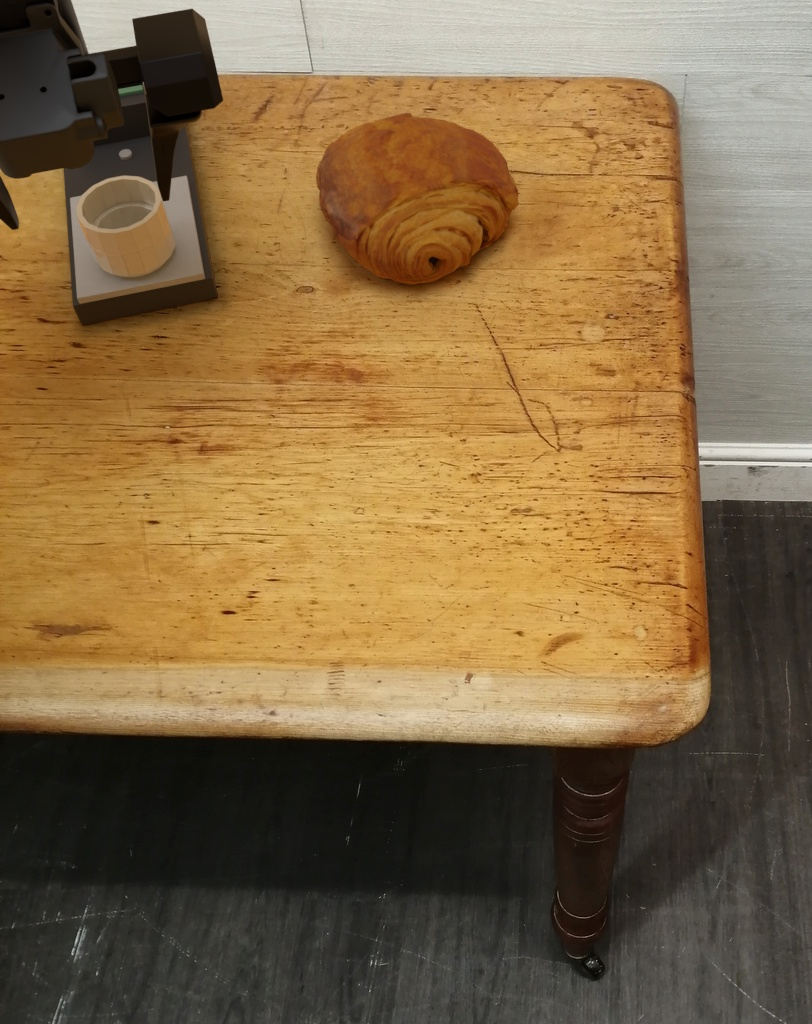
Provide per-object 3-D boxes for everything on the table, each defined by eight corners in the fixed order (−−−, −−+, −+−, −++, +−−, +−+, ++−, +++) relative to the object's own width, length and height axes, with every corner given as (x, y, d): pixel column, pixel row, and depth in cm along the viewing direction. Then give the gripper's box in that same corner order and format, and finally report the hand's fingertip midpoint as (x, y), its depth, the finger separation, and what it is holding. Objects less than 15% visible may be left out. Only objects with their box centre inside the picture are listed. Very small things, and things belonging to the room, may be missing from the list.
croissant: (348, 325, 73) (337, 255, 66) (307, 169, 79) (292, 90, 72) (536, 282, 74) (545, 208, 67) (480, 131, 80) (483, 49, 73)
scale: (81, 325, 71) (56, 271, 67) (66, 110, 85) (44, 54, 81) (218, 298, 72) (202, 243, 68) (180, 89, 86) (165, 32, 82)
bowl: (99, 288, 70) (78, 239, 66) (94, 234, 73) (74, 184, 69) (180, 272, 70) (164, 223, 66) (172, 219, 73) (156, 168, 70)
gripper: (-226, 79, 42) (-67, 334, 55) (203, 6, 44) (260, 269, 57) (-200, -49, 49) (-62, 207, 62) (176, -109, 50) (234, 153, 63)
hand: (91, 211), depth 61 cm, fingers open, 9 cm apart
